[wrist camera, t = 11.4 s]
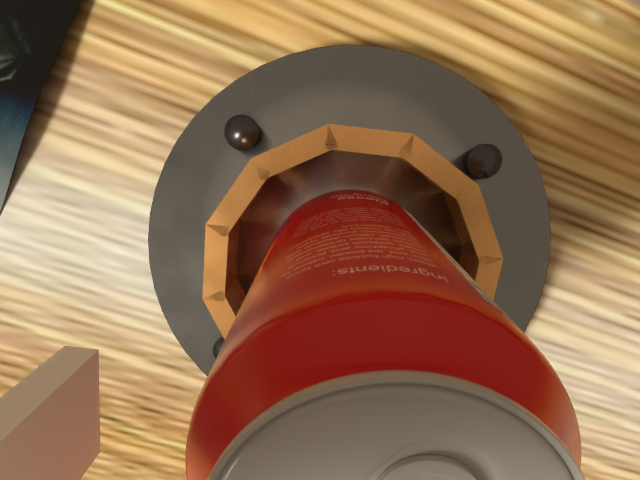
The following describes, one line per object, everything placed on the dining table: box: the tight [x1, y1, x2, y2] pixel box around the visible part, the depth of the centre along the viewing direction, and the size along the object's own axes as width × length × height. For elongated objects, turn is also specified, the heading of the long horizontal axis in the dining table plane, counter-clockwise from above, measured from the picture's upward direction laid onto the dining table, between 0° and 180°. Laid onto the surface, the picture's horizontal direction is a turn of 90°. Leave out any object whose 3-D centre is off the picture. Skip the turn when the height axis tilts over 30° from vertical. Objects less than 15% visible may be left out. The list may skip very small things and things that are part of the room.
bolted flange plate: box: [148, 45, 551, 376], centre depth 20 cm, size 20×20×4 cm
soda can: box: [186, 189, 586, 480], centre depth 14 cm, size 8×8×15 cm
